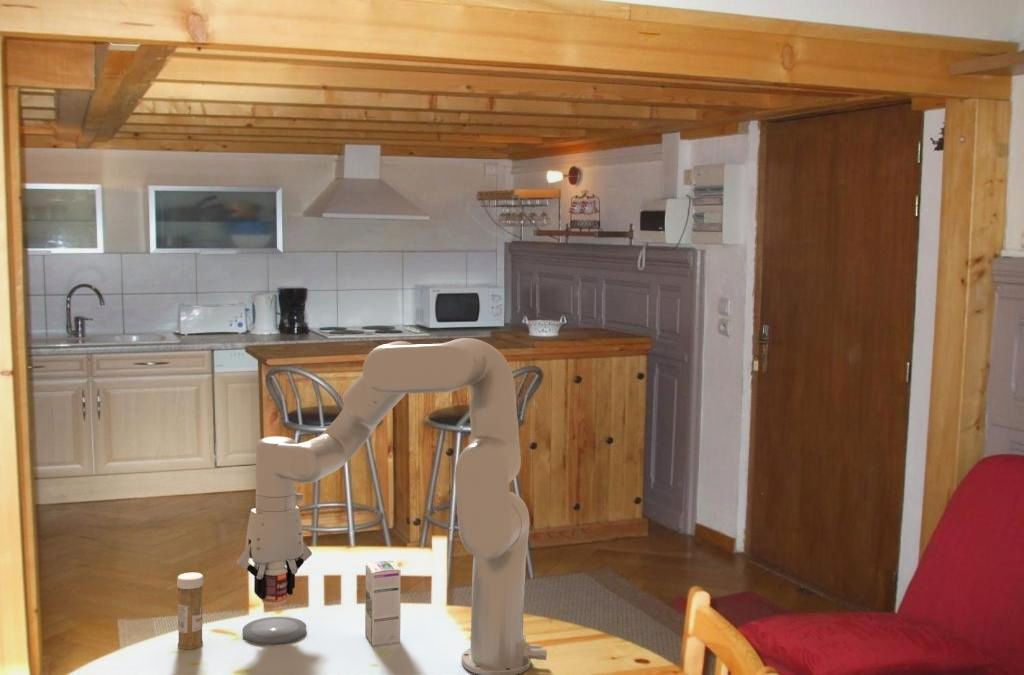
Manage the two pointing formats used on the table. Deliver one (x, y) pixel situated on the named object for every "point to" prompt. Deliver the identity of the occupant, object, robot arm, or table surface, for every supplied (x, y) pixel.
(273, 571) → the pill bottle
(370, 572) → the syrup box
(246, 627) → the dish
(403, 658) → the table surface
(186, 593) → the sprinkles bottle
